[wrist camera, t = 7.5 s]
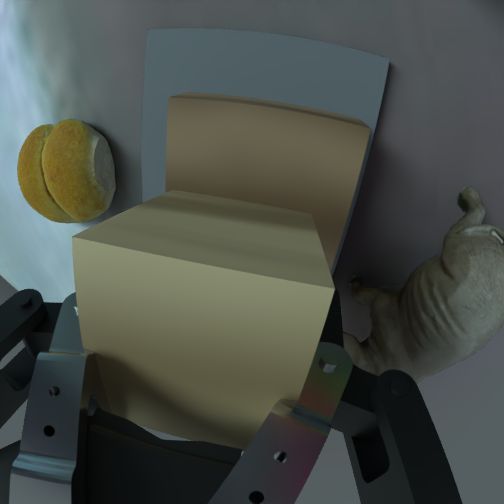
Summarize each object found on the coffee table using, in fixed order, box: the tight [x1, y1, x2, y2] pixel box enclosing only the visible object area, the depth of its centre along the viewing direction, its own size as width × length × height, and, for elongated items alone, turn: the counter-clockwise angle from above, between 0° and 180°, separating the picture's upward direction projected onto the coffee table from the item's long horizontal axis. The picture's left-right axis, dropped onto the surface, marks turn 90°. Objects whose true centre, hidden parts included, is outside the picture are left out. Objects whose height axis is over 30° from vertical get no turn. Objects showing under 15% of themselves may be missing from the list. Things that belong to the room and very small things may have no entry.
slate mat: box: [141, 28, 390, 277], centre depth 19 cm, size 16×14×1 cm
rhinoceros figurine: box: [343, 186, 504, 384], centre depth 18 cm, size 8×14×15 cm
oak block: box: [72, 190, 335, 451], centre depth 9 cm, size 5×5×6 cm
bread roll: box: [17, 119, 116, 223], centre depth 20 cm, size 8×9×4 cm
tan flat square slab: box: [165, 92, 371, 271], centre depth 18 cm, size 10×10×3 cm
